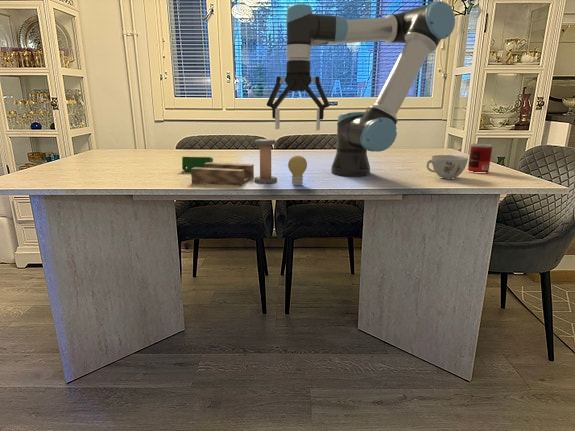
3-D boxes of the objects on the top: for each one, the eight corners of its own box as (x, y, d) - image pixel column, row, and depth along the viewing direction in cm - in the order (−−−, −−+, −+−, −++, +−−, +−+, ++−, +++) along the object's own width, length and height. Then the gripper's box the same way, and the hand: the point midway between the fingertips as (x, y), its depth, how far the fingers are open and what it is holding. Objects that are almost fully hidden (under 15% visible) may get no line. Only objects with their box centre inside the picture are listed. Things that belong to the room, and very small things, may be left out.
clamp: (208, 180, 164) (217, 160, 164) (204, 180, 158) (214, 159, 158) (182, 168, 165) (191, 148, 164) (177, 167, 159) (186, 146, 158)
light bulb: (285, 186, 135) (285, 156, 132) (291, 182, 141) (291, 153, 138) (303, 187, 133) (303, 157, 130) (309, 183, 139) (309, 154, 136)
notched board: (253, 177, 148) (253, 164, 147) (241, 185, 135) (240, 171, 134) (208, 175, 152) (207, 162, 151) (191, 183, 139) (190, 168, 137)
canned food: (489, 171, 164) (493, 144, 160) (486, 174, 157) (491, 146, 154) (469, 169, 168) (473, 143, 164) (465, 172, 161) (469, 145, 158)
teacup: (454, 174, 157) (457, 153, 155) (472, 180, 145) (475, 158, 143) (418, 175, 156) (420, 154, 153) (432, 181, 144) (435, 159, 141)
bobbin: (279, 179, 145) (279, 139, 141) (273, 184, 138) (273, 141, 134) (258, 178, 147) (257, 138, 143) (251, 183, 139) (250, 141, 135)
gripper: (339, 60, 126) (336, 129, 132) (263, 61, 132) (264, 127, 138) (337, 58, 119) (334, 131, 125) (256, 59, 125) (257, 129, 131)
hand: (297, 129), depth 132 cm, fingers open, 13 cm apart
